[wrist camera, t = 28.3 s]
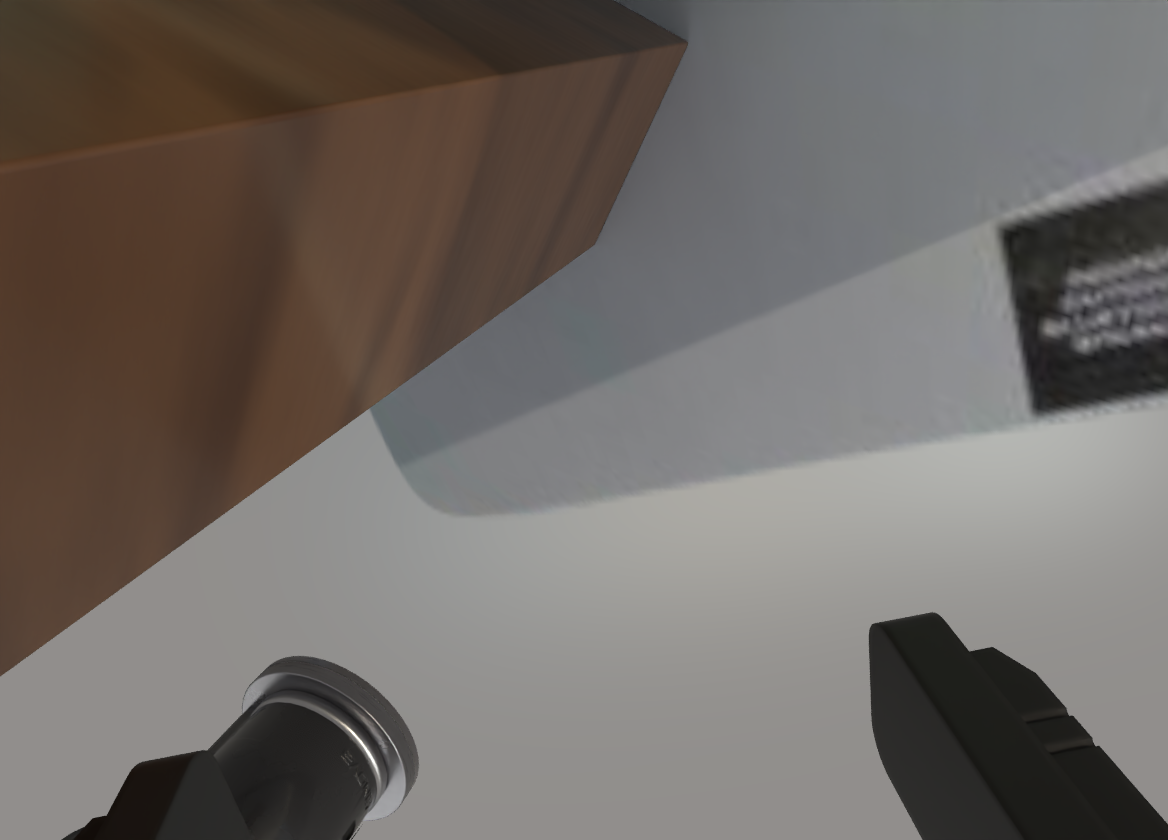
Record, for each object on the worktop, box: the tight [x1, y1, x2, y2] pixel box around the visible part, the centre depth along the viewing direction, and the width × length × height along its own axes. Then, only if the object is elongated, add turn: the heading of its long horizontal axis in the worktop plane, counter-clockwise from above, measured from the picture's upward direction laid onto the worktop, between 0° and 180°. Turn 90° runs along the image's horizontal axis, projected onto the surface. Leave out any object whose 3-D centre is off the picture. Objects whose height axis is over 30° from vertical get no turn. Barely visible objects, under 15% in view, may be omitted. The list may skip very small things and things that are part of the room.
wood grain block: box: [0, 0, 688, 676], centre depth 17 cm, size 8×8×32 cm
